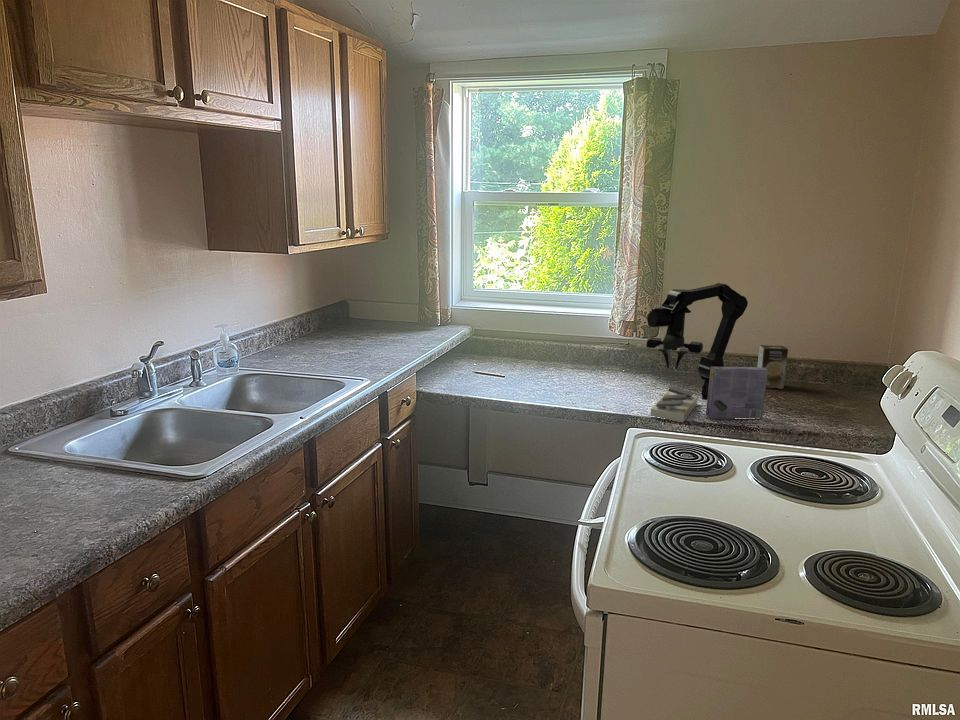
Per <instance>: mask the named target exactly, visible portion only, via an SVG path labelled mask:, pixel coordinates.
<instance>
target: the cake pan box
mask: <svg viewBox="0 0 960 720" xmlns="http://www.w3.org/2000/svg"><path fill="white" fill-rule="evenodd" d="M767 375H768V370H767V369H765V368H762V367H755V366H754V367H751V366H747V367H745V366H724V367H711V369H710V379H709V388H708V398H707V399H706V409H705V410H706V411H705V416H706V417H707V418H708V419H709V418H710V419H709V420H711V419H713V420H729V419H735V418H760V419H762V420H763V417H764V416H763V414H764V408H765V407H764V405H765V398H766V389H767V388H766V382H767Z"/></svg>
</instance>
